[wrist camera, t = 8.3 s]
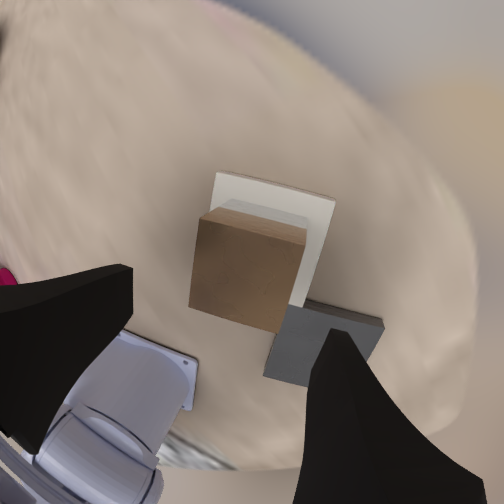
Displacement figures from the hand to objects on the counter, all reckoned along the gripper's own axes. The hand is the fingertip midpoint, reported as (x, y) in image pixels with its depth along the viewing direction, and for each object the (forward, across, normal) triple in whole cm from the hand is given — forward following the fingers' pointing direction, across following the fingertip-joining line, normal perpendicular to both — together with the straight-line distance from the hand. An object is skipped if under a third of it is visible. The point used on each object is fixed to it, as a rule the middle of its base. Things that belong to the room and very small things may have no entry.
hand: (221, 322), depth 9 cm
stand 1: (+9, 0, 0) cm, 9 cm away
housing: (+8, 0, 0) cm, 8 cm away
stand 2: (+9, -6, +7) cm, 13 cm away
